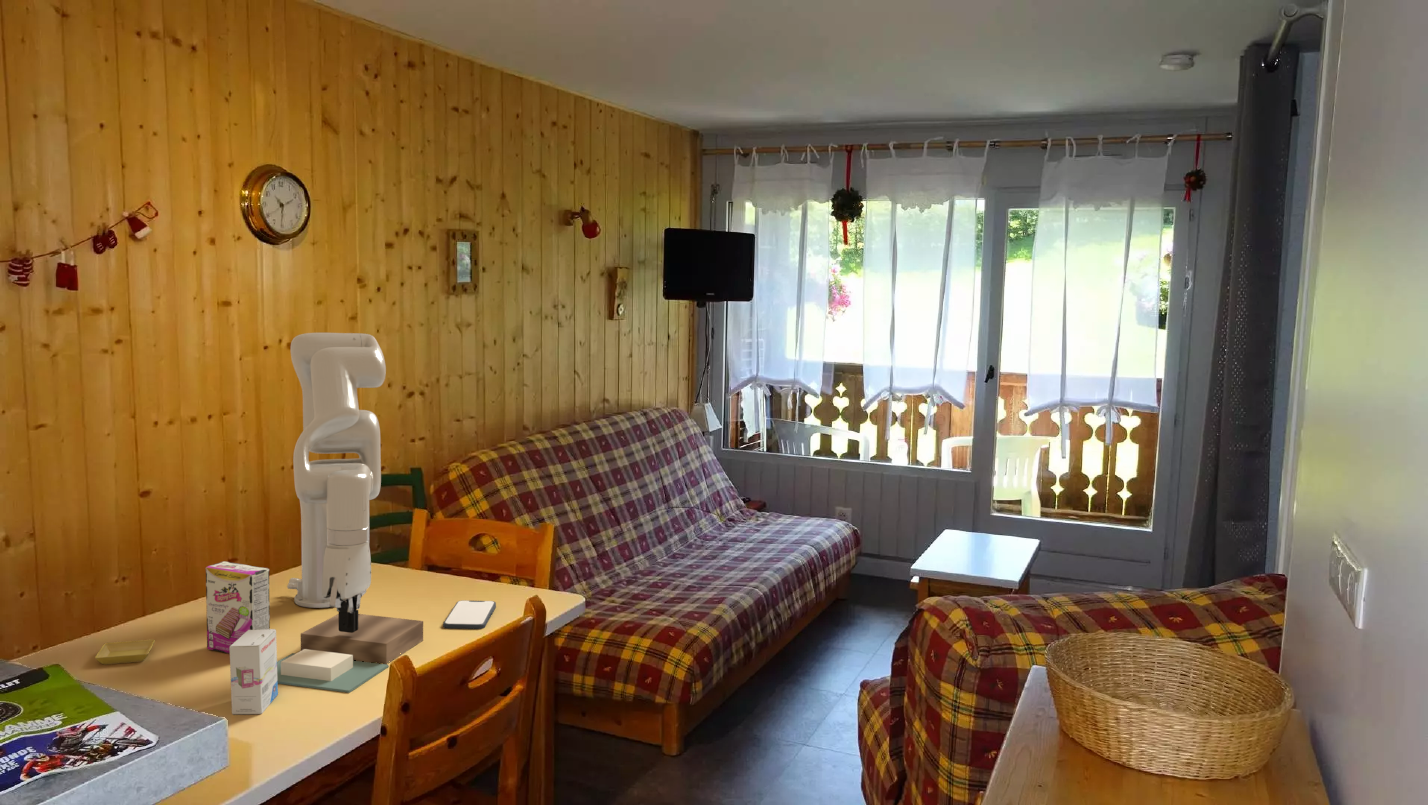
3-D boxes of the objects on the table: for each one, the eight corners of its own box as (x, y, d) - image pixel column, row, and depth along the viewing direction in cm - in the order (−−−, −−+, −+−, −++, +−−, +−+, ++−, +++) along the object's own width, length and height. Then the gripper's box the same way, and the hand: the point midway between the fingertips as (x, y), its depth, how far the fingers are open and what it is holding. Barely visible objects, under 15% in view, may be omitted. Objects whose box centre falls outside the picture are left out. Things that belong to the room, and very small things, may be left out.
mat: (248, 679, 183) (248, 677, 183) (292, 655, 196) (292, 653, 196) (349, 692, 179) (349, 690, 179) (388, 666, 191) (388, 664, 191)
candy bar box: (205, 650, 196) (203, 566, 195) (225, 642, 201) (224, 560, 199) (252, 659, 193) (251, 573, 191) (271, 650, 197) (270, 567, 196)
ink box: (248, 694, 177) (248, 627, 175) (278, 694, 177) (278, 627, 176) (229, 714, 168) (228, 644, 167) (261, 714, 169) (260, 644, 167)
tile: (304, 648, 191) (304, 661, 191) (280, 661, 184) (280, 674, 185) (352, 654, 189) (352, 667, 189) (330, 668, 182) (330, 681, 183)
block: (300, 653, 196) (300, 633, 196) (342, 631, 210) (342, 611, 210) (386, 664, 193) (386, 643, 192) (423, 640, 206) (423, 621, 206)
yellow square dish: (104, 653, 194) (104, 642, 194) (156, 649, 197) (155, 638, 197) (94, 669, 186) (94, 657, 186) (148, 664, 189) (148, 653, 189)
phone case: (484, 632, 214) (497, 607, 230) (484, 625, 214) (497, 600, 230) (441, 631, 214) (457, 606, 230) (441, 624, 214) (457, 599, 230)
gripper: (352, 526, 202) (352, 617, 204) (306, 543, 187) (307, 641, 189) (387, 529, 200) (386, 621, 202) (344, 547, 186) (344, 645, 188)
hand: (348, 630), depth 196 cm, fingers closed
